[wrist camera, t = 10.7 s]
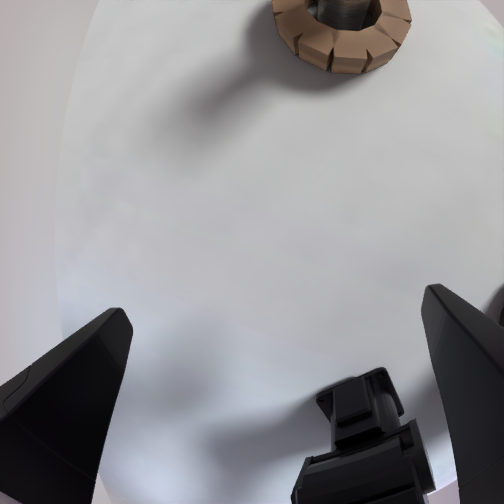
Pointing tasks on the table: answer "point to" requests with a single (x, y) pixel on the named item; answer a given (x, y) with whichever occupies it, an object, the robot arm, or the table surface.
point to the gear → (343, 35)
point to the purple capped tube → (342, 13)
